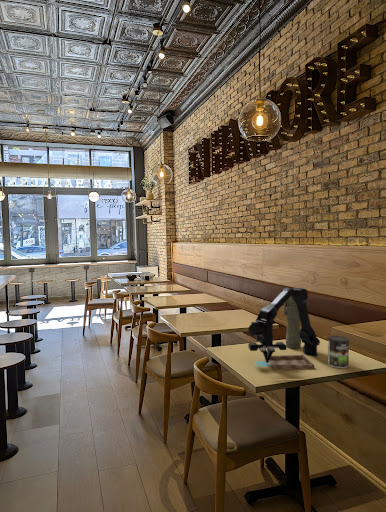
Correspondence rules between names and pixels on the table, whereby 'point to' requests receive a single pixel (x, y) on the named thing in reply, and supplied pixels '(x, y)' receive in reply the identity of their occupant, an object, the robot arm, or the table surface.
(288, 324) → the thermos
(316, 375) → the table surface
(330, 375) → the table surface
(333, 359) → the coffee can
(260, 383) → the table surface
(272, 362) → the brown flat tray
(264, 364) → the cover plate
